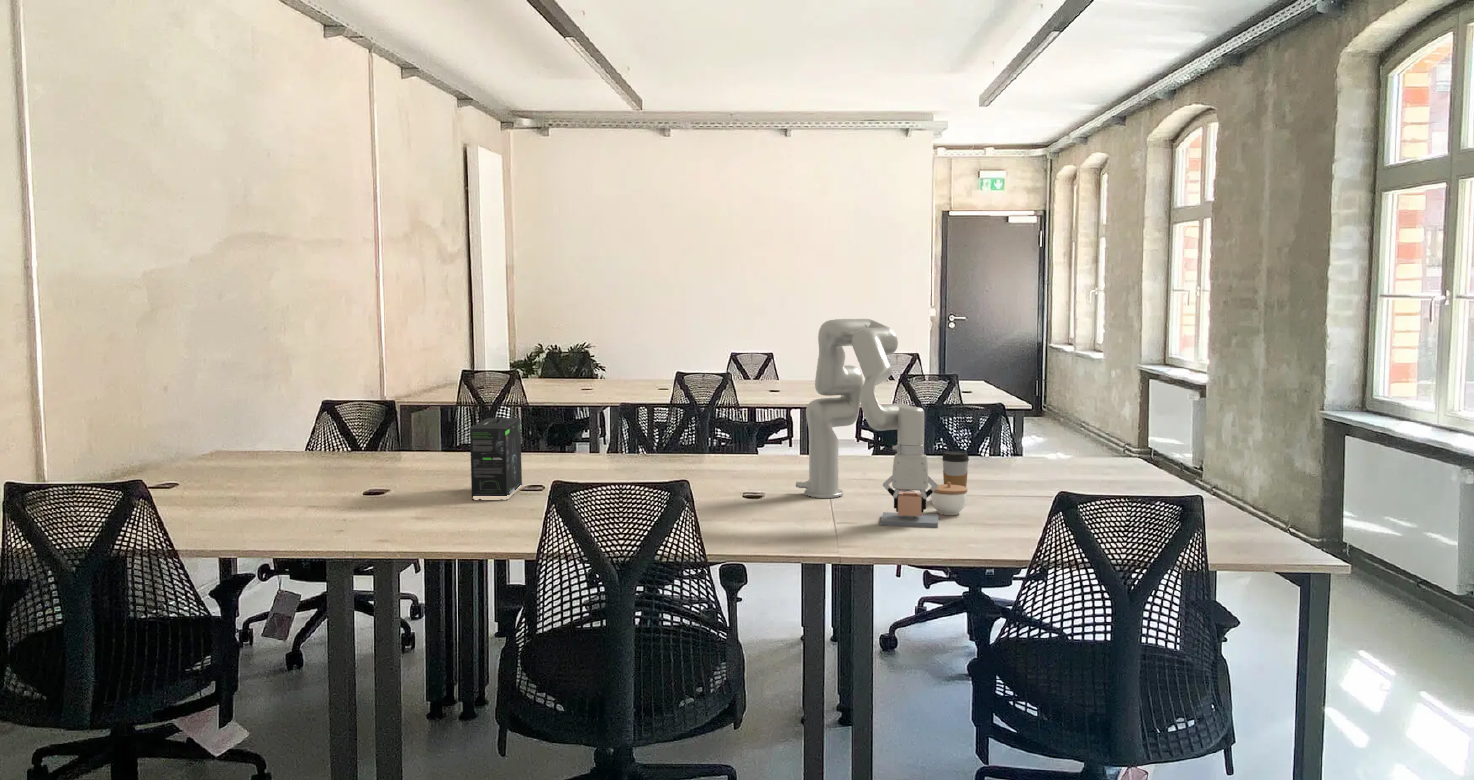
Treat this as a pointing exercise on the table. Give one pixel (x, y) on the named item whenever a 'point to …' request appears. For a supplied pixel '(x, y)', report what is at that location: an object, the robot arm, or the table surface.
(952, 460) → the coffee cup
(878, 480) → the table surface
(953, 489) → the lidded jar
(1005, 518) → the table surface
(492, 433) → the headset box
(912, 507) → the collar
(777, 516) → the table surface
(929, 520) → the board
